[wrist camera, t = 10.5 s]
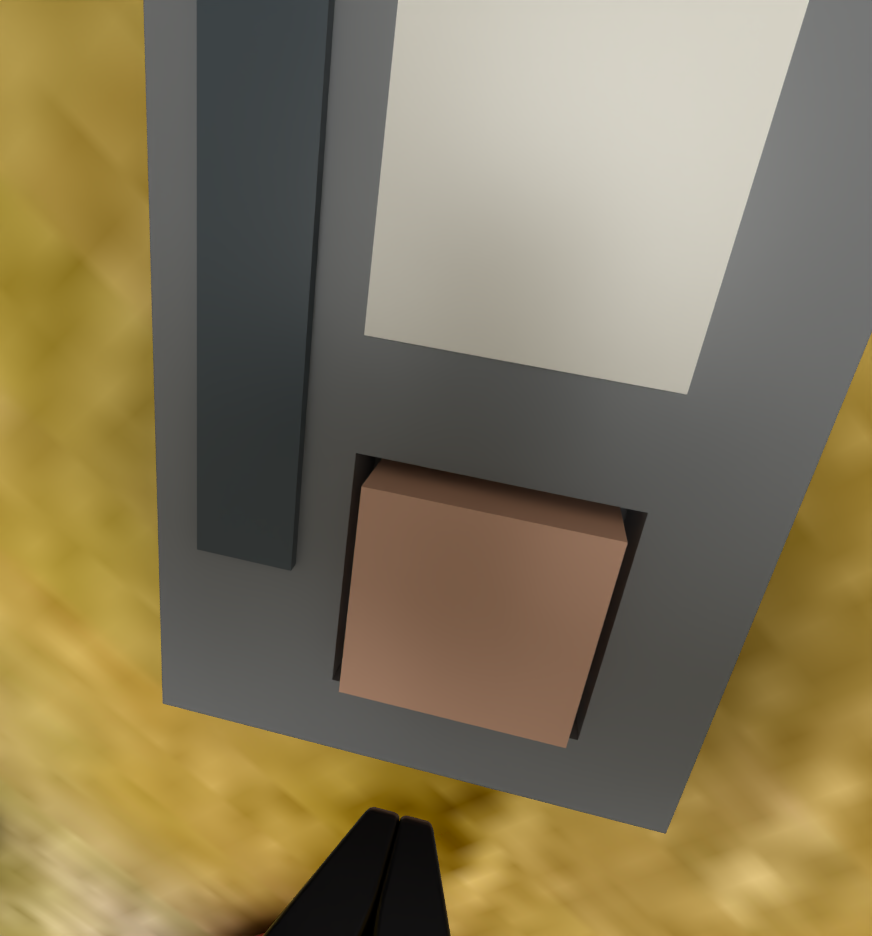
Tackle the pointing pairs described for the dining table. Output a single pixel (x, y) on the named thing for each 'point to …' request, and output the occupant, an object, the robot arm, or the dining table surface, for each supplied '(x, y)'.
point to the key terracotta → (478, 599)
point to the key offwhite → (571, 176)
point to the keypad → (466, 401)
